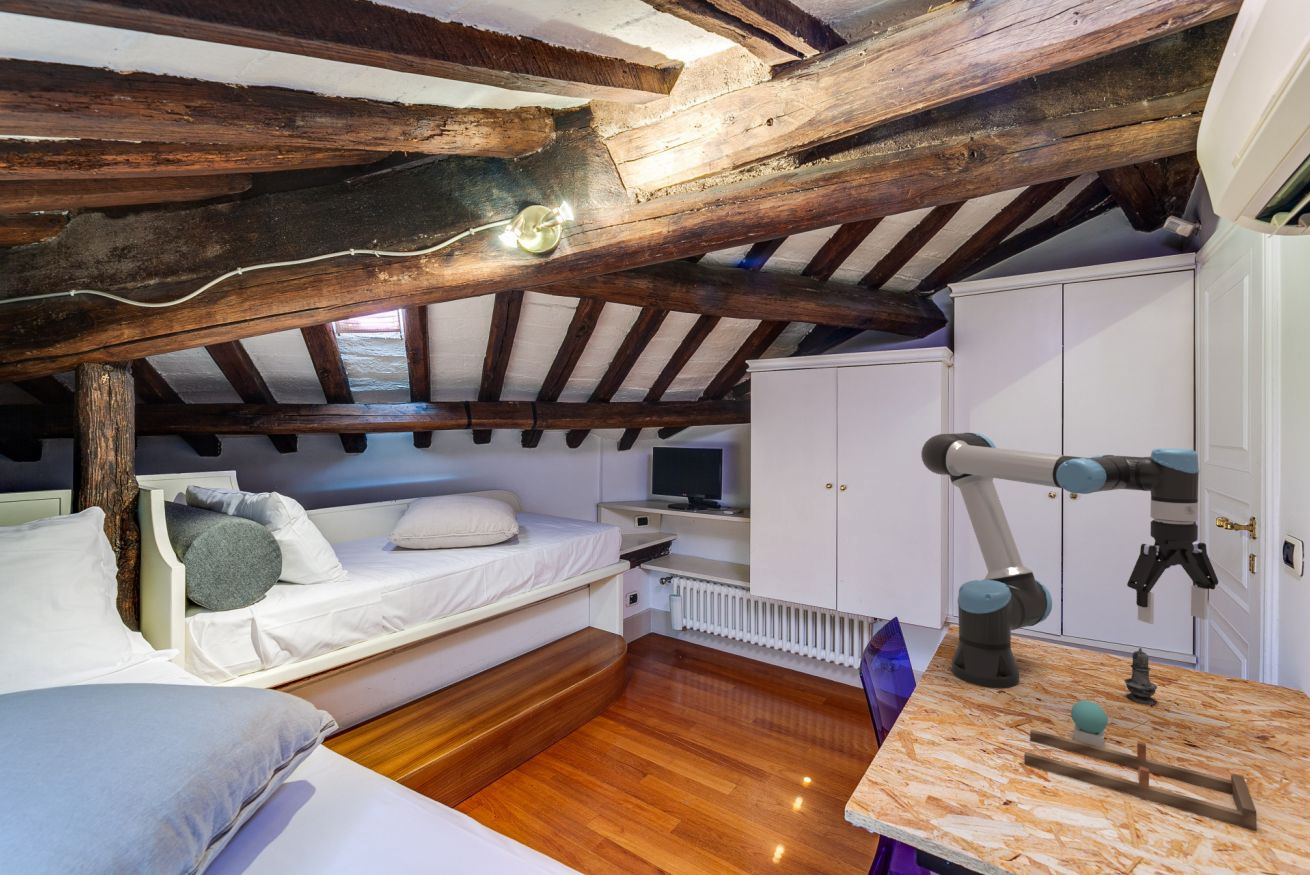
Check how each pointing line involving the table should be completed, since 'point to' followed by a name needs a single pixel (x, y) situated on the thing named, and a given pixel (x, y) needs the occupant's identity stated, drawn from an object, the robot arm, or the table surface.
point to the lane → (1142, 789)
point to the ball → (1089, 716)
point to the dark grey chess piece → (1140, 680)
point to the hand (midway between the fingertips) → (1172, 619)
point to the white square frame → (1089, 737)
